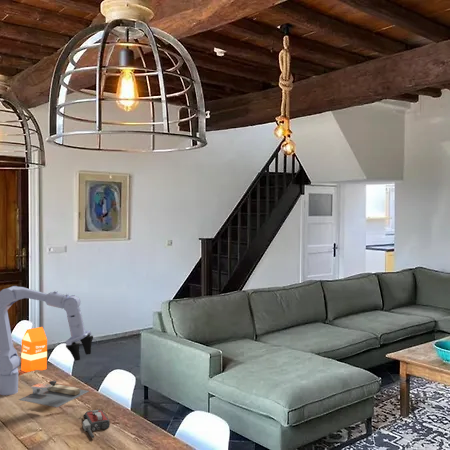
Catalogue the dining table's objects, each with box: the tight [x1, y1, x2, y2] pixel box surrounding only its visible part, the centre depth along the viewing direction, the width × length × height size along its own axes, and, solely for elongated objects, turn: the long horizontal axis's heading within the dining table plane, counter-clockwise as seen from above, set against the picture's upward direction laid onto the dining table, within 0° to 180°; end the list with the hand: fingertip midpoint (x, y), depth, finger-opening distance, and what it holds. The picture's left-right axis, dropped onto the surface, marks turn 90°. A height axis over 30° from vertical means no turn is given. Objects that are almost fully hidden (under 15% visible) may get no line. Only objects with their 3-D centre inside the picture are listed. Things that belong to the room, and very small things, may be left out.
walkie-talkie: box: [82, 409, 111, 439], centre depth 176 cm, size 9×4×20 cm
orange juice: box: [20, 326, 48, 373], centre depth 240 cm, size 8×9×20 cm
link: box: [48, 380, 81, 395], centre depth 207 cm, size 14×3×4 cm, turn 68°
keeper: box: [30, 383, 52, 395], centre depth 205 cm, size 4×7×4 cm, turn 78°
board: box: [18, 388, 90, 408], centre depth 204 cm, size 19×20×1 cm
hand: (83, 357), depth 207 cm, fingers open, 7 cm apart
